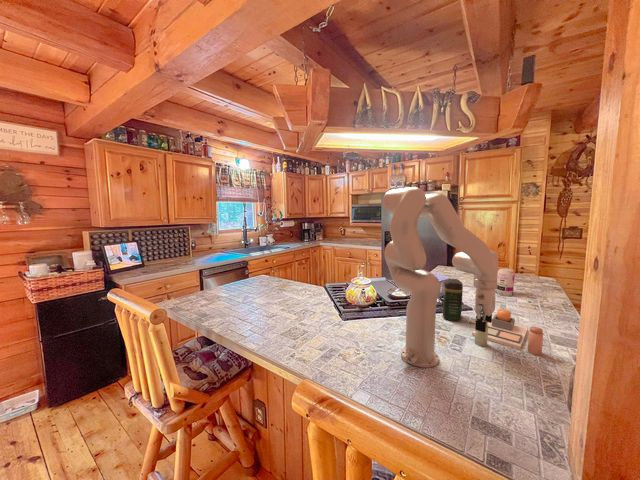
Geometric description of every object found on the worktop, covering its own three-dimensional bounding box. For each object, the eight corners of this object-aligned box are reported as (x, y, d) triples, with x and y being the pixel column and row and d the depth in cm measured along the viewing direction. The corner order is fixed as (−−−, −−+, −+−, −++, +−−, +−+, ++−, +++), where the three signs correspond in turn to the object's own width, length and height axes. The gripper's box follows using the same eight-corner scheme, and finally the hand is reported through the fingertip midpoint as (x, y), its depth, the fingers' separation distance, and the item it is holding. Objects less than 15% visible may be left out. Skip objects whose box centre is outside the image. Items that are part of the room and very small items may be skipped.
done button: (509, 323, 110) (509, 314, 109) (495, 320, 113) (496, 311, 113) (511, 320, 113) (511, 311, 113) (498, 317, 117) (498, 308, 116)
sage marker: (485, 347, 99) (487, 324, 98) (473, 343, 102) (474, 321, 101) (488, 343, 102) (489, 321, 101) (476, 340, 105) (477, 318, 103)
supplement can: (512, 293, 158) (514, 268, 156) (513, 297, 151) (515, 272, 149) (496, 291, 162) (497, 267, 160) (496, 295, 155) (498, 270, 153)
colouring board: (520, 349, 97) (521, 338, 97) (471, 335, 108) (472, 325, 108) (527, 330, 111) (528, 320, 111) (484, 319, 122) (484, 310, 122)
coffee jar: (462, 322, 120) (464, 283, 118) (443, 320, 123) (444, 281, 121) (460, 314, 129) (461, 277, 126) (442, 312, 132) (443, 276, 129)
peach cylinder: (540, 356, 92) (543, 332, 91) (526, 352, 95) (528, 329, 94) (542, 352, 95) (544, 328, 94) (528, 348, 98) (530, 325, 97)
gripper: (491, 291, 90) (489, 338, 92) (501, 279, 102) (500, 320, 105) (467, 287, 95) (466, 331, 98) (479, 276, 107) (478, 316, 110)
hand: (483, 326), depth 101 cm, fingers open, 9 cm apart
